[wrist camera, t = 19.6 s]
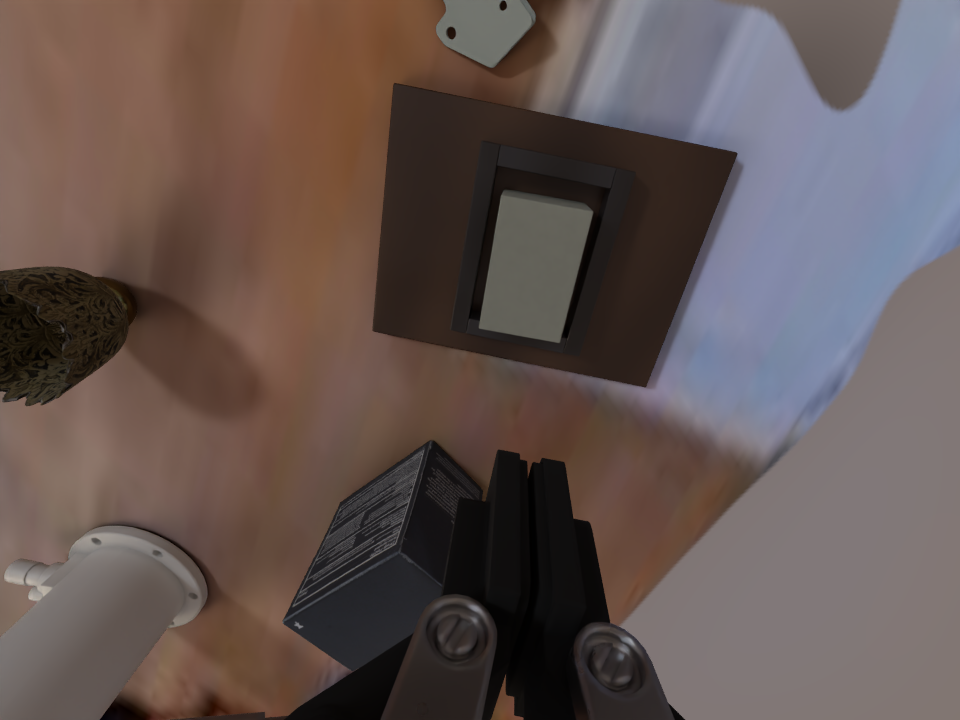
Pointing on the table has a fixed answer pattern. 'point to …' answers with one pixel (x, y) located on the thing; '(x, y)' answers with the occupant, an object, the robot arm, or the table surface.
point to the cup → (58, 329)
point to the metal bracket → (485, 27)
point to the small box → (382, 559)
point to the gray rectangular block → (534, 264)
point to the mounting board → (549, 172)
